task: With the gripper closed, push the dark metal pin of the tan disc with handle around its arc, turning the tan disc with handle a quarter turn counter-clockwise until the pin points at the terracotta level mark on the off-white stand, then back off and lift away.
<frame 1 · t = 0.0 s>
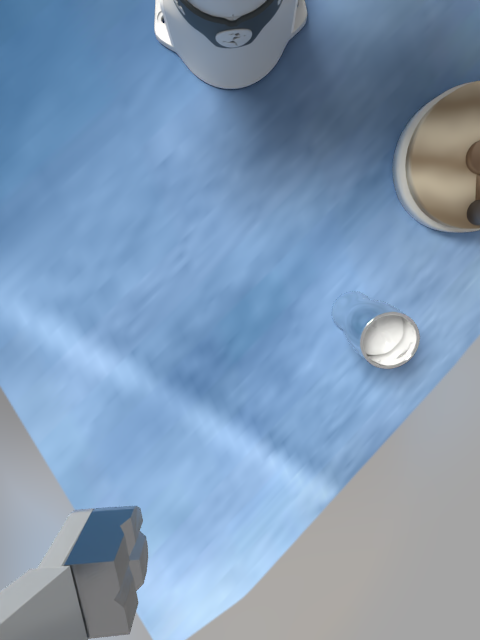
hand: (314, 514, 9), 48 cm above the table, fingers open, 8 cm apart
stand: (459, 163, 52), on the table
beer glass: (351, 310, 57), on the table
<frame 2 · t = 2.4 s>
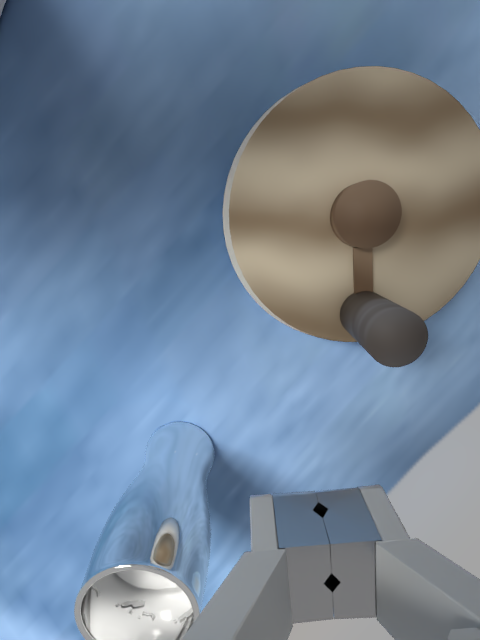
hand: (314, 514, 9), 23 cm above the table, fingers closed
tan disc with handle: (371, 214, 23), point 7 cm above the table, hinge at 0.0°
stand: (341, 216, 30), on the table
beer glass: (181, 450, 35), on the table
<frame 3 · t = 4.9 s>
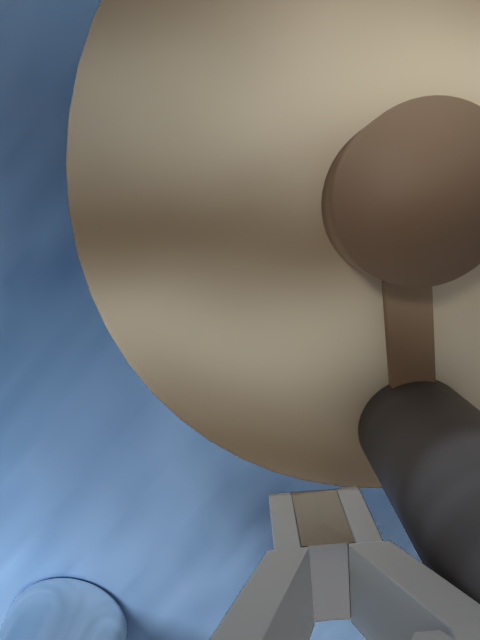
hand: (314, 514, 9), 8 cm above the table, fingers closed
tan disc with handle: (438, 195, 8), point 7 cm above the table, hinge at 2.9°, touching gripper
beer glass: (70, 619, 20), on the table
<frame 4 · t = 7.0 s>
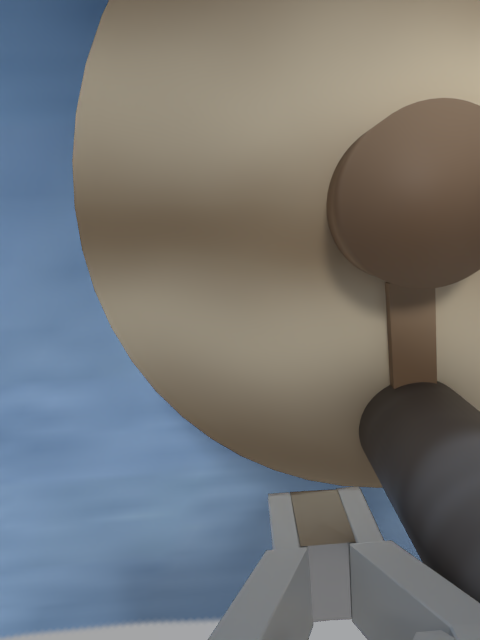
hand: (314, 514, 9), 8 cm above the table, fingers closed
tan disc with handle: (443, 197, 8), point 7 cm above the table, hinge at 49.4°, touching gripper
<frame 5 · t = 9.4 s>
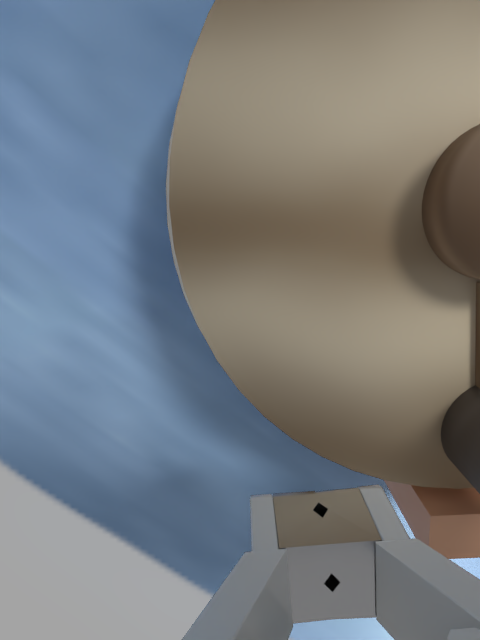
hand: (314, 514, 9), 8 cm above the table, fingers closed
stand: (415, 209, 15), on the table
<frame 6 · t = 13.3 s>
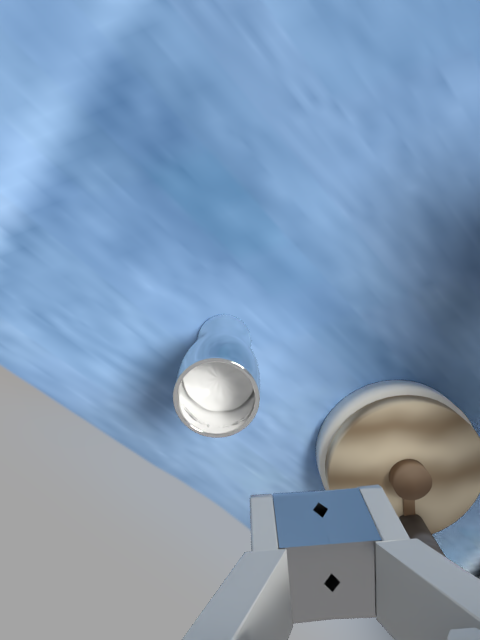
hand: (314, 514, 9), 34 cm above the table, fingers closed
tan disc with handle: (415, 487, 40), point 7 cm above the table, hinge at 94.3°
stand: (390, 449, 47), on the table
beer glass: (224, 339, 44), on the table
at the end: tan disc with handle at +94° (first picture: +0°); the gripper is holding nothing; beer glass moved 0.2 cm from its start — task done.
